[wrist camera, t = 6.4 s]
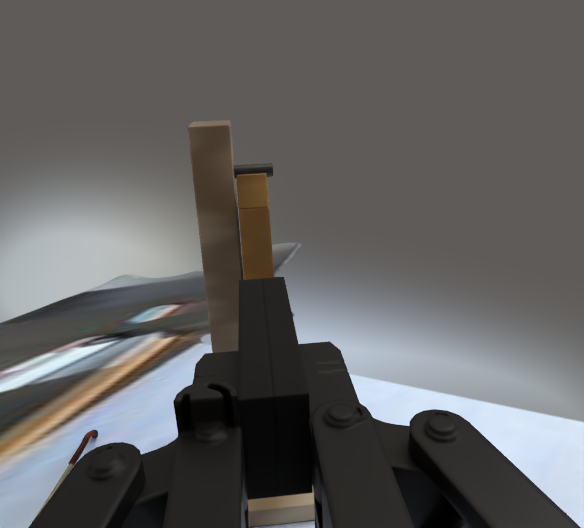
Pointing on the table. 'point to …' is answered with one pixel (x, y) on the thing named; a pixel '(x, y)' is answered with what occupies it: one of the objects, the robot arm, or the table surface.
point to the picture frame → (255, 226)
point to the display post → (229, 272)
